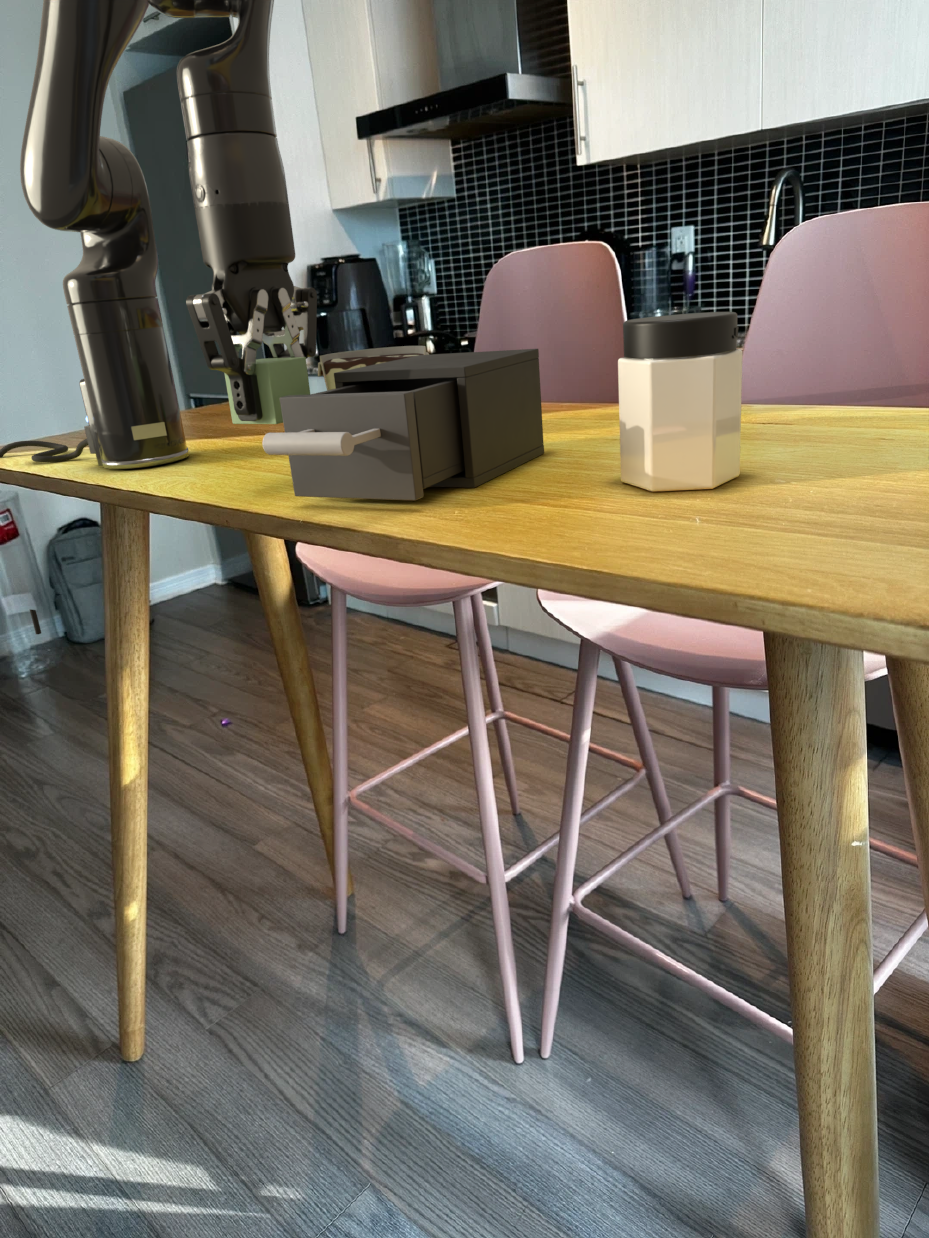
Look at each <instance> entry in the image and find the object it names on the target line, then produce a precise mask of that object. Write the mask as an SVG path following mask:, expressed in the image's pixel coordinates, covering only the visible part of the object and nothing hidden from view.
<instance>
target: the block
mask: <svg viewBox="0 0 929 1238" xmlns="http://www.w3.org/2000/svg"><path fill="white" fill-rule="evenodd" d="M252 375H257V381H258V388H259V394H260V401H261V408H262V415H263V416H262V419H260V420H257V421H241V420H240V419H239V418H238V415H237V414H236V412H235V409H234V404H233V403H234V402H233V397H232V391H231V385H230V379H229V377H228V375H226V374H225V373H224V378H225V379H224V380H225V386H226V392H227V397H228V405H229V409H230V415H231V422H232V424H233V425H279V424H284V423H283V417H282V411H281V404H280V397H284V396H288V395H310V394H311V388H310V387H311V386H310V380H309V373H308V365H307V359H306V357H292V358H273V357H268V358H258V359H257V358H256V365H255V372H254V374H252Z"/></svg>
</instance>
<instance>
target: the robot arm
mask: <svg viewBox="0 0 929 1238" xmlns="http://www.w3.org/2000/svg"><path fill="white" fill-rule="evenodd" d="M274 5H275V0H42V8H41V9H42V10H41V21H40V29H39V38H38V39H39V40H38V49H37V57H36V64H35V71H34V76H33V81H32V88H31V92H30V98H29V104H28V110H27V114H26V120H25V125H24V131H23V136H22V137H23V138H22V142H21V150H20V160H19V161H20V162H19V173H20V185H21V189H22V193H23V197H24V199H25V202H26V204H27V207H28V209H29V210H30V211H31V213H32V214H33V216H34V217H35V218H36V219H37V220H38V221H39V222H40V223H41V224H42V225H44V226H45V227H47V228H49V229H52V230H56V231H60V232H70V233H80V239H81V246H82V257H81V259H80V262H79V263H78V265H77V267H75V268H74V269H72V270H71V271H70V272H68V273H67V274H66V275H65V276H64V277H63V279H62V289H63V294H64V298H65V299H64V300H65V303H66V305H67V310H68V315H69V320H70V325H71V329H72V333H73V337H74V341H75V345H76V349H77V355H78V359H79V363H80V368H81V372H82V377H83V378H81V379H80V380H79V389H80V393H81V397H82V403H83V406H84V410H85V415H86V417H85V421H86V422H87V423H88V425H84V427H83V428H84V432H85V436H86V438H84V439H83V440H81V441H80V442H79V443H77V446H76V448H75V450H74V451H72V452H69V453H66V452H68V451H69V446H67V445H65V444H62V443H56V442H52V441H51V442H50V441H44V440H19V441H14V442H10V443H8V444H6V445H4V446H3V447H1V448H0V459H2V458H3V457H4V456H5V455H6V454H7V453H8V452H10V451H11V450H14V449H18V448H23V447H24V448H25V447H39V448H41V447H42V448H47V449H49V450H45V451H41V452H38V453H35V454H33V455H31V460H32V462H34V463H58V462H65V461H66V462H67V461H71V460H75V459H77V458H79V457H80V456H81V455H82V453H83V451H84V449H85V448H86V447H87V446H88V450H89V453H90V454H91V455H95V458H96V463H97V466H98V467H103V468H104V469H109V470H128V469H140V468H149V467H154V466H161V465H165V464H170V463H174V462H178V461H182V460H184V459H187V458H188V457H189V456H190V451H189V447H188V445H187V441H186V435H185V431H184V426H183V418H182V413H181V409H180V404H179V400H178V399H179V398H178V394H177V389H176V384H175V379H174V374H173V369H172V363H171V359H170V354H169V348H168V343H167V337H166V335H165V334H166V333H165V328H164V324H163V318H162V313H161V308H160V303H159V298H158V292H157V288H156V287H157V286H156V280H157V274H158V269H159V258H158V249H157V242H156V235H155V229H154V228H155V227H154V219H153V214H152V207H151V200H150V195H149V191H148V187H147V183H146V179H145V176H144V172H143V170H142V168H141V166H140V164H139V162H138V159H137V158H136V157H135V155H134V153H133V152H132V151H131V150H130V149H129V148H128V147H127V146H126V145H125V144H123V143H122V142H121V141H118V140H116V139H114V138H110V137H107V136H103V135H101V126H102V118H103V117H102V116H103V112H104V111H103V110H104V103H105V99H106V93H107V90H108V86H109V83H110V80H111V78H112V75H113V72H114V70H115V68H116V66H117V65H118V63H119V62H120V59H121V58H122V56H123V54H124V52H125V51H126V49H127V47H128V46H129V44H130V43H131V41H132V40H133V38H134V36H135V35H136V33H137V32H138V29H139V28H140V26H141V24H142V23H143V21H144V19H145V17H146V14H147V12H148V9H149V8H150V6H151V7H152V8H153V9H154V10H155V11H156V12H158V13H160V14H161V15H163V16H165V17H167V18H173V19H174V18H175V19H196V18H197V19H200V18H201V19H204V18H207V19H209V18H210V19H211V18H214V19H215V18H231V17H232V18H235V19H237V20H238V22H237V27H236V28H235V31H234V32H233V34H232V35H231V36H230V37H229V38H228V39H227V40H225V41H223V42H221V43H219V44H216V45H212V46H209V47H206V48H205V47H204V48H203V49H199V50H195V51H193V52H190V53H188V54H186V55H185V56H183V57H182V58H181V59H180V60H179V62H178V64H177V67H176V82H177V88H178V95H179V101H180V108H181V113H182V120H183V126H184V132H185V138H186V141H187V142H186V143H187V144H186V145H187V156H188V157H187V158H188V175H189V183H190V188H191V194H192V200H193V207H194V213H195V220H196V224H197V232H198V237H199V243H200V249H201V255H202V262H203V264H204V266H206V268H209V269H211V270H212V274H213V275H212V276H213V277H212V283H211V290H209V291H207V292H205V293H200V294H191V295H188V296H187V297H186V300H185V304H186V308H187V310H188V313H189V314H188V315H189V316H190V319H191V322H192V325H193V328H194V331H195V334H196V337H197V340H198V342H199V345H200V348H201V349H200V350H201V351H202V355H203V358H204V360H205V363H206V366H207V368H208V369H209V370H211V371H219V372H222V373H224V375H225V374H226V375H228V377H229V379H230V385H231V391H232V397H233V402H234V403H233V404H234V409H235V412H236V414H237V415H238V418H239V419H240V420H241V421H257V420H260V419H262V416H263V415H262V408H261V401H260V394H259V388H258V381H257V375H252V374H254V372H255V365H256V360H257V352H258V349H259V348H261V346H262V344H265V345H267V346H268V347H269V350H270V352H271V355H272V358H292V357H306V360H307V359H308V358H314V357H315V356H316V354H317V322H318V321H317V319H318V317H317V316H318V315H317V314H318V313H317V311H318V308H317V307H318V294H317V290H316V288H314V287H299V286H296V285H294V282H293V280H292V278H291V276H290V275H291V274H290V272H289V264H291V263H292V262H294V261H295V259H296V248H295V241H294V240H295V239H294V233H293V225H292V218H291V210H290V209H291V208H290V203H289V202H290V201H289V195H288V188H287V179H286V173H285V167H284V162H283V159H282V154H281V151H280V147H279V141H278V138H277V137H278V134H277V128H276V120H275V119H276V118H275V112H274V106H273V105H274V104H273V97H272V87H271V77H270V76H271V73H270V44H271V43H270V42H271V29H272V21H273V12H274ZM302 331H303V342H301V343H300V336H301V332H302ZM216 343H217V344H216ZM217 345H218V347H217ZM284 345H285V346H286V349H285V348H284ZM218 348H219V350H218ZM241 349H242V350H241ZM240 350H241V357H239V356H240ZM219 351H220V353H219ZM64 453H66V454H64ZM29 613H30V617H31V621H32V625H33V629H34V632H35V635H41V634H42V629H41V625H40V622H39V618H38V614H37V610H36V609H29Z"/></svg>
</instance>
